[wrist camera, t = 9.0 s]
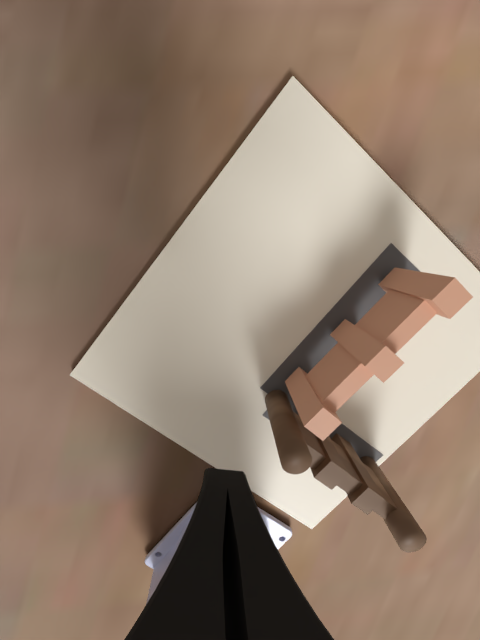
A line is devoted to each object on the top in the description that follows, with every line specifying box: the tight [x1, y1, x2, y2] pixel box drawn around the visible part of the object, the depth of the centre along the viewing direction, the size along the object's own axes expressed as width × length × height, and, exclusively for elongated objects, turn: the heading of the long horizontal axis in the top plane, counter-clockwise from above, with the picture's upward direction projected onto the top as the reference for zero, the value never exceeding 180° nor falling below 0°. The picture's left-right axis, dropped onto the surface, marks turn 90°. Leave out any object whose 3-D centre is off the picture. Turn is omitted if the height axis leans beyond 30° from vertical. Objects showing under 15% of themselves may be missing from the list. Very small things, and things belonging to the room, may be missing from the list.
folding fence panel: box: [285, 268, 473, 441], centre depth 17 cm, size 10×1×5 cm, turn 139°
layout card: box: [70, 76, 480, 529], centre depth 20 cm, size 22×22×1 cm
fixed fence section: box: [265, 390, 426, 552], centre depth 19 cm, size 2×11×6 cm, turn 50°
